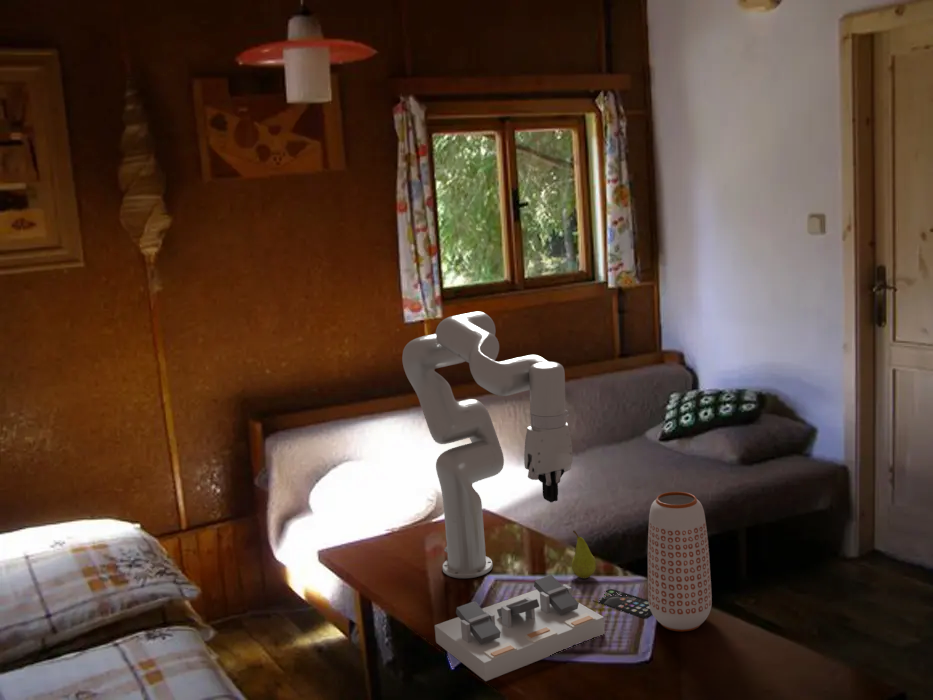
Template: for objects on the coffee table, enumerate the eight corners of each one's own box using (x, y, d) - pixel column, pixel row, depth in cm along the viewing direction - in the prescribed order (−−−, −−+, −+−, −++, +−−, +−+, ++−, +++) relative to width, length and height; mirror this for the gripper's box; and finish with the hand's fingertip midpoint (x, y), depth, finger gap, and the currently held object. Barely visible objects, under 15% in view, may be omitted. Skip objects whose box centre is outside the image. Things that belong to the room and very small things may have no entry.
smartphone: (610, 588, 231) (664, 605, 220) (610, 590, 231) (664, 607, 221) (590, 599, 226) (645, 617, 215) (590, 602, 226) (645, 620, 216)
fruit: (600, 579, 237) (598, 532, 234) (579, 584, 234) (576, 537, 232) (589, 570, 242) (586, 524, 239) (568, 575, 240) (565, 529, 237)
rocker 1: (455, 613, 208) (456, 605, 207) (474, 606, 210) (475, 599, 209) (480, 644, 200) (481, 636, 199) (499, 637, 203) (500, 629, 202)
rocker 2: (499, 616, 213) (496, 607, 213) (516, 610, 215) (513, 601, 215) (521, 613, 204) (518, 603, 205) (539, 606, 206) (536, 596, 207)
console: (436, 642, 212) (433, 608, 211) (549, 601, 227) (547, 569, 225) (485, 681, 195) (482, 644, 194) (604, 634, 210) (602, 599, 208)
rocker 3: (533, 586, 218) (535, 578, 217) (550, 580, 220) (552, 572, 219) (560, 615, 210) (561, 607, 209) (577, 608, 212) (578, 601, 212)
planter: (713, 637, 205) (710, 509, 200) (648, 636, 208) (643, 509, 202) (711, 608, 218) (707, 487, 212) (649, 607, 221) (644, 487, 215)
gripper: (566, 409, 218) (568, 487, 223) (509, 422, 211) (512, 502, 215) (586, 417, 212) (588, 497, 216) (529, 431, 205) (531, 513, 209)
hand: (550, 499), depth 216 cm, fingers closed
